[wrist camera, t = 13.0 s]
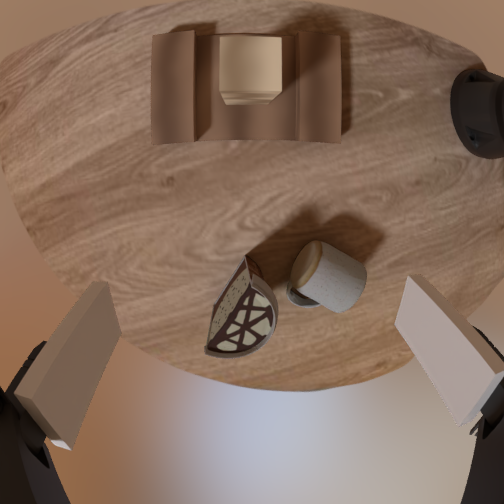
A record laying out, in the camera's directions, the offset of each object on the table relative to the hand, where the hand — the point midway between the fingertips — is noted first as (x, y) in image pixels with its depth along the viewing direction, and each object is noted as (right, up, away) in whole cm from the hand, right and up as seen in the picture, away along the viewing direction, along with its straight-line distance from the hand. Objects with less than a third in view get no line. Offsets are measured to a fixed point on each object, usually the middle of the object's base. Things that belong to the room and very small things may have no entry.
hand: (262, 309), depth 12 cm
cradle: (-1, +22, +19) cm, 30 cm away
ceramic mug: (+9, 0, +30) cm, 31 cm away
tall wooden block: (-1, +22, +19) cm, 29 cm away
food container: (-1, -3, +31) cm, 31 cm away
